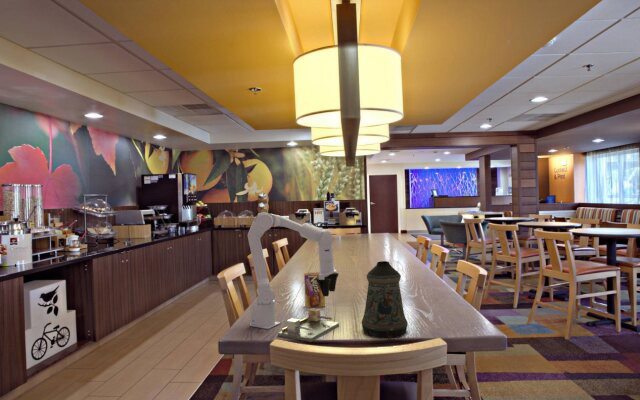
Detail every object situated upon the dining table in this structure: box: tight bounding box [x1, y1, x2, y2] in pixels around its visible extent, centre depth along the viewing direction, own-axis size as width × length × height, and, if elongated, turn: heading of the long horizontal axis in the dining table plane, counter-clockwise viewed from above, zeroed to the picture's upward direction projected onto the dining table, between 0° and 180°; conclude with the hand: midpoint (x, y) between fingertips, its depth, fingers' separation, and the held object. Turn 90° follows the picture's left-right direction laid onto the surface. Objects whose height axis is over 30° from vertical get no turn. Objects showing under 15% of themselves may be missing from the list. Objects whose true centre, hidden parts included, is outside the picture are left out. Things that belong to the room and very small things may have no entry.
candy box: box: [303, 271, 326, 309], centre depth 192 cm, size 9×4×15 cm, turn 96°
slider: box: [307, 307, 333, 321], centre depth 165 cm, size 10×3×4 cm, turn 58°
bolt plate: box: [277, 316, 340, 343], centre depth 158 cm, size 14×20×2 cm
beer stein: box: [361, 260, 409, 340], centre depth 156 cm, size 16×19×25 cm
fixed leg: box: [286, 317, 312, 333], centre depth 153 cm, size 10×3×4 cm, turn 58°
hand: (329, 293), depth 172 cm, fingers open, 7 cm apart
